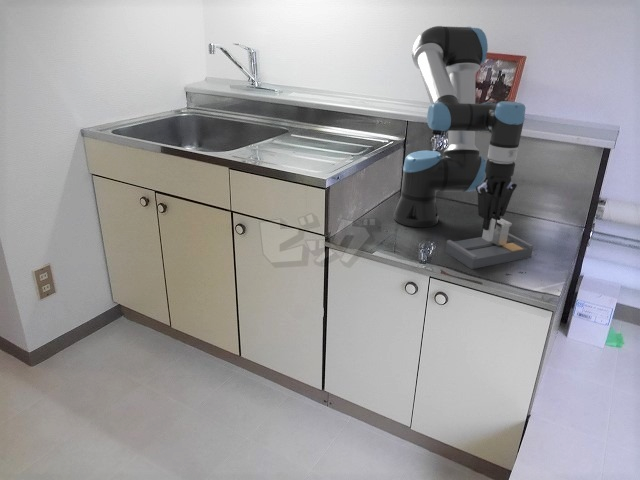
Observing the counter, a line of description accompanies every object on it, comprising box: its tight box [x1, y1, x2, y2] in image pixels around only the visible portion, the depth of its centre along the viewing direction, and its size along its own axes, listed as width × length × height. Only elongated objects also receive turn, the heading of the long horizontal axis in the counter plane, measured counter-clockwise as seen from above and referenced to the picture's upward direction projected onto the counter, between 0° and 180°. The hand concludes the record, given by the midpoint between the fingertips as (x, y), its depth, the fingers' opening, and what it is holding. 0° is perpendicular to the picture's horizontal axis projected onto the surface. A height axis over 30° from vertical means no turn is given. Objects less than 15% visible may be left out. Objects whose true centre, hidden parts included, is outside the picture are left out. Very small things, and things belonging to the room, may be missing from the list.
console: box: [445, 232, 534, 270], centre depth 152 cm, size 12×22×4 cm, turn 114°
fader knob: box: [490, 217, 513, 246], centre depth 151 cm, size 5×4×7 cm
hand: (486, 239), depth 150 cm, fingers closed
